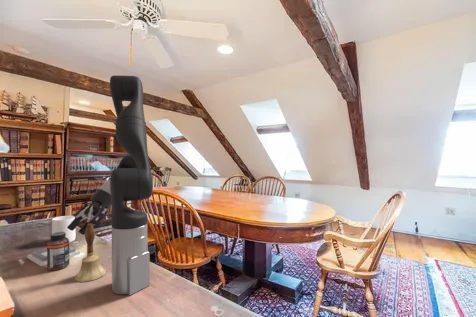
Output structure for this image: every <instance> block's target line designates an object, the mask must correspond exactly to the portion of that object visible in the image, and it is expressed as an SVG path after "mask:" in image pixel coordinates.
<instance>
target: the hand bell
mask: <svg viewBox="0 0 476 317" xmlns="http://www.w3.org/2000/svg"><path fill="white" fill-rule="evenodd" d="M95 232H96V231H95V228H94V226H93V225H92V223H89V224H87V228H86V230H85V234H84V238H85V243H86V256H85V257H83V258H82V260H81V266H80V269H79V271H78V273H77V274H76V275H75V276H74V281H75V282H78V283H86V282H93V281H96V280H98V279H101V278H102V277H104V276H105V274H106V273H107V270H106V269H105V268H104V267H103V266H102V264H101V262H100V261H101V260H100V257H99V256H98V255H96V254H94V253H95V252H94V242H95V236H96V234H95Z"/></svg>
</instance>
